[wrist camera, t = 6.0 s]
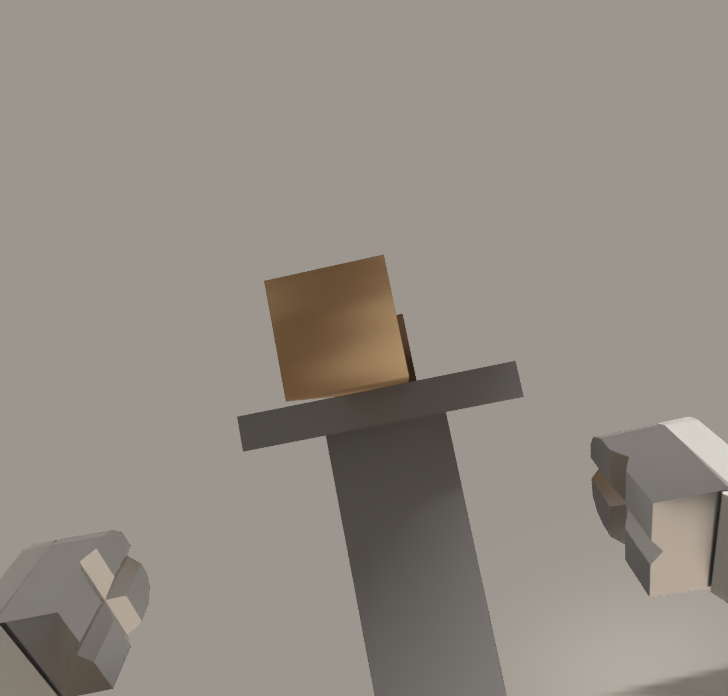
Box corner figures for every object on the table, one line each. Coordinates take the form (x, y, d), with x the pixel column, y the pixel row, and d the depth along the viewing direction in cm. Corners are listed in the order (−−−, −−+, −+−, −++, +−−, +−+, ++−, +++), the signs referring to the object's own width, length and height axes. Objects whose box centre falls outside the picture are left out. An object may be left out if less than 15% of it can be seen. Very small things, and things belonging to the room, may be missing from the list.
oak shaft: (415, 383, 31) (403, 323, 32) (430, 372, 11) (395, 210, 12) (355, 395, 31) (343, 335, 32) (265, 405, 12) (237, 246, 12)
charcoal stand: (563, 780, 30) (473, 372, 33) (680, 1070, 17) (515, 360, 20) (375, 806, 31) (302, 406, 34) (353, 1101, 18) (237, 416, 21)
